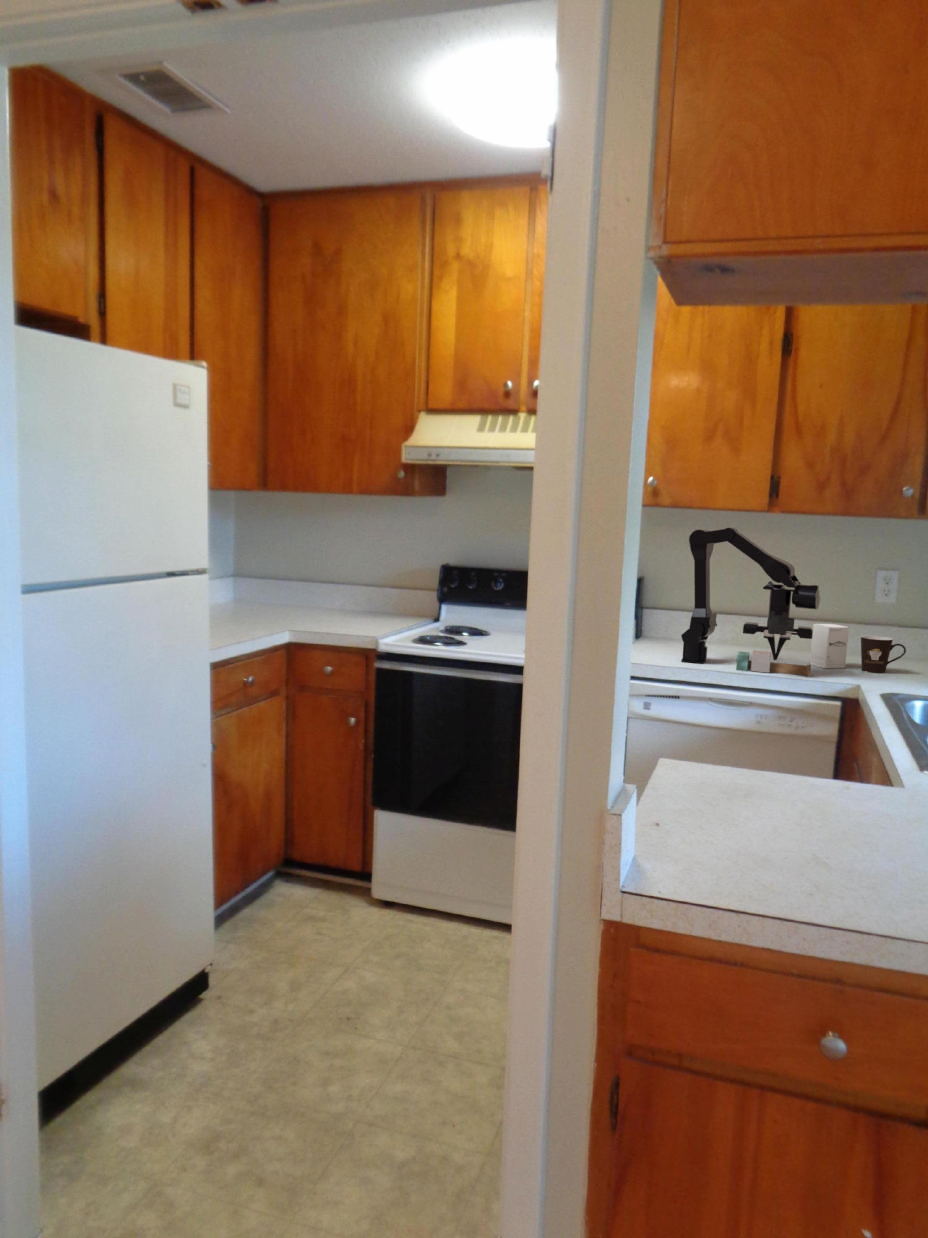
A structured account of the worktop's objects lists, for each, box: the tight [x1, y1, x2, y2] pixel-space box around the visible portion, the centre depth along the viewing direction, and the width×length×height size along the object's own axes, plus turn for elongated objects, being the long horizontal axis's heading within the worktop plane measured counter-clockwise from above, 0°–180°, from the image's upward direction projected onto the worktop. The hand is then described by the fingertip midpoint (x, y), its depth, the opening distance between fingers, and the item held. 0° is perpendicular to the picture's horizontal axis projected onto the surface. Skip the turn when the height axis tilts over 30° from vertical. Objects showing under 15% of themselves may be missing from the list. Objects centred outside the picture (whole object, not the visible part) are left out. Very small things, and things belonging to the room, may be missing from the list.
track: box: [735, 650, 812, 677], centre depth 258 cm, size 20×7×4 cm, turn 69°
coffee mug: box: [860, 635, 907, 674], centre depth 263 cm, size 12×9×10 cm
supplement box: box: [809, 623, 850, 669], centre depth 270 cm, size 7×7×13 cm
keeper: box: [750, 650, 772, 673], centre depth 259 cm, size 5×7×5 cm
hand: (775, 660), depth 258 cm, fingers closed
